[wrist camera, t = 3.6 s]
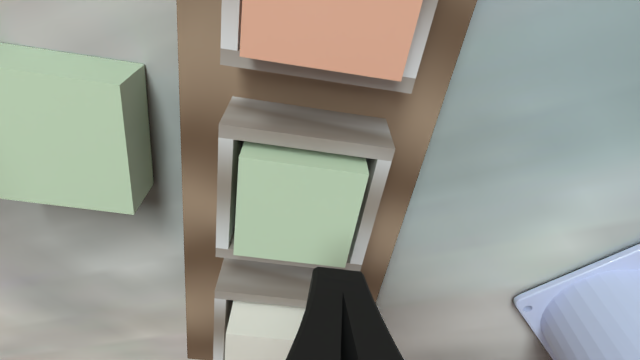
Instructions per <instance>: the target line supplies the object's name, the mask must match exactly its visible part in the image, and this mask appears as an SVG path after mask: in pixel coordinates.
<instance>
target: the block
mask: <svg viewBox="0 0 640 360" xmlns="http://www.w3.org/2000/svg"><path fill="white" fill-rule="evenodd" d="M153 184H154V183H153V170H152V157H151V144H150V131H149V118H148V105H147V92H146V78H145V65H144V64H139V63H132V62H126V61H119V60H112V59H106V58H99V57H92V56H86V55H79V54H73V53H66V52H59V51H53V50H46V49H39V48H33V47H26V46H19V45H13V44H6V43H0V199H8V200H16V201H24V202H32V203H41V204H49V205H57V206H65V207H74V208H82V209H90V210H98V211H107V212H115V213H123V214H131V215H134V214H135V212H136V211H137V209H138V208H139V206H140V205H141V203H142V201H143V200H144V198H145V197H146V195H147V193H148V192H149V190H150V189H151V187H152V185H153Z"/></svg>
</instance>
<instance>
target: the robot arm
mask: <svg viewBox="0 0 640 360" xmlns="http://www.w3.org/2000/svg"><path fill="white" fill-rule="evenodd" d="M514 304H515V306H516V308H517V309H518V310H519V312H520V313H521V315H522V316H523V318H524V319H525V320H526V322H527V323H528V325H529V326H530V328H531V329H532V330H533V332H534V333H535V335H536V336H537V337H538V339H539V340H540V342H541V343H542V345H543V346H544V347H545V349H546V350H547V352H548V353H549V355H550V356H551V357H552V359H553V360H640V244H638V245H635V246H633V247H631V248H628V249H626V250H623V251H621V252H619V253H616V254H614V255H612V256H609V257H607V258H604V259H602V260H600V261H597V262H595V263H593V264H590V265H588V266H585V267H583V268H581V269H578V270H576V271H574V272H571V273H569V274H567V275H564V276H562V277H559V278H557V279H555V280H552V281H550V282H548V283H545V284H543V285H540V286H538V287H536V288H533V289H531V290H529V291H526V292H524V293H521V294H519V295H517V296H516V297H515V298H514ZM286 360H404V359H403V357H402V356H401V354H400V352H399V350H398V348H397V346H396V345H395V343H394V341H393V339H392V337H391V335H390V333H389V331H388V329H387V327H386V325H385V323H384V321H383V319H382V317H381V315H380V313H379V310H378V308H377V306H376V304H375V301H374V299H373V297H372V294H371V292H370V290H369V287H368V285H367V282H366V279H365V276H364V274H363V273H362V272H361V271H352V270H343V269H334V268H325V267H316V268H314V269H313V272H312V278H311V283H310V288H309V293H308V298H307V304H306V309H305V312H304V315H303V318H302V321H301V324H300V327H299V329H298V332H297V334H296V337H295V339H294V341H293V344H292V346H291V348H290V351H289V353H288V355H287V358H286Z"/></svg>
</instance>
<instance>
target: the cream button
mask: <svg viewBox="0 0 640 360" xmlns="http://www.w3.org/2000/svg"><path fill="white" fill-rule="evenodd" d="M305 309H306V308H300V307H291V306H281V305H272V304H263V303H253V302H244V301H235V300H233V305H232V309H231V313H230V318H229V322H228V327H227V331H226V341H225V360H286V358H287V355H288V353H289V351H290V348H291V346H292V344H293V341H294V339H295V337H296V334H297V332H298V329H299V327H300V324H301V321H302V318H303V315H304V312H305Z"/></svg>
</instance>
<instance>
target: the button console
mask: <svg viewBox="0 0 640 360" xmlns="http://www.w3.org/2000/svg"><path fill="white" fill-rule="evenodd" d="M476 2H477V0H423V2H422V6H421V9H420V13H419V17H418V20H417V24H416V28H415V32H414V35H413V39H412V43H411V46H410V50H409V54H408V58H407V61H406V65H405V69H404V72H403V76H402V80H401V82H400V81H394V80H387V79H381V78H374V77H368V76H361V75H355V74H348V73H342V72H335V71H329V70H322V69H316V68H309V67H303V66H296V65H290V64H284V63H277V62H271V61H264V60H258V59H251V58H245V57H240V36H241V16H242V0H177V31H178V63H179V95H180V127H181V160H182V192H183V224H184V257H185V289H186V321H187V354H188V358H190V359H200V360H225V341H226V331H227V327H228V322H229V318H230V313H231V309H232V305H233V300H235V301H244V302H253V303H263V304H272V305H281V306H291V307H300V308H306V304H307V298H308V293H309V288H310V283H311V278H312V272H313V269H314V268H316V267H325V268H334V269H343V270H352V271H361V272H362V273H363V274H364V276H365V279H366V282H367V285H368V287H369V290H370V292H371V294H372V297H373V299H374V301H375V303H376V300H377V297H378V294H379V291H380V288H381V285H382V282H383V279H384V276H385V273H386V270H387V267H388V264H389V261H390V258H391V255H392V252H393V249H394V246H395V243H396V240H397V237H398V234H399V231H400V228H401V225H402V222H403V219H404V216H405V213H406V210H407V207H408V204H409V201H410V198H411V196H412V193H413V190H414V187H415V184H416V181H417V178H418V175H419V172H420V169H421V166H422V163H423V160H424V157H425V154H426V151H427V148H428V145H429V142H430V139H431V136H432V133H433V130H434V127H435V124H436V121H437V118H438V115H439V112H440V109H441V106H442V103H443V100H444V97H445V94H446V91H447V88H448V85H449V82H450V79H451V76H452V73H453V70H454V67H455V64H456V61H457V58H458V56H459V53H460V50H461V47H462V44H463V41H464V38H465V35H466V32H467V29H468V26H469V23H470V20H471V17H472V14H473V11H474V8H475V5H476ZM244 141H247V142H255V143H262V144H269V145H276V146H284V147H291V148H298V149H305V150H313V151H320V152H327V153H334V154H342V155H349V156H356V157H363V158H366V160H367V166H368V171H369V177H368V181H367V185H366V189H365V193H364V197H363V200H362V204H361V208H360V212H359V216H358V220H357V224H356V227H355V231H354V235H353V239H352V243H351V247H350V251H349V254H348V258H347V262H346V266H345V268H342V267H333V266H324V265H316V264H307V263H298V262H290V261H281V260H273V259H264V258H255V257H247V256H238V255H233V252H234V234H235V216H236V198H237V180H238V162H239V155H240V152H241V149H242V146H243V143H244Z"/></svg>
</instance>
